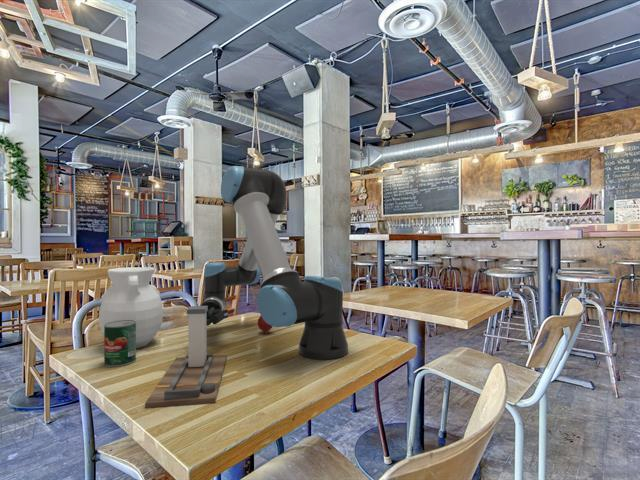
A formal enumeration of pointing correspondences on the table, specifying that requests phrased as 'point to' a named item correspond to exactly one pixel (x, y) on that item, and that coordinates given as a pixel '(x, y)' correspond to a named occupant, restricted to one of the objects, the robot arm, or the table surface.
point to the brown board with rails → (189, 383)
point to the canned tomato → (119, 343)
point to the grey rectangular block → (197, 336)
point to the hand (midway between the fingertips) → (200, 326)
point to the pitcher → (133, 302)
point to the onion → (263, 325)
